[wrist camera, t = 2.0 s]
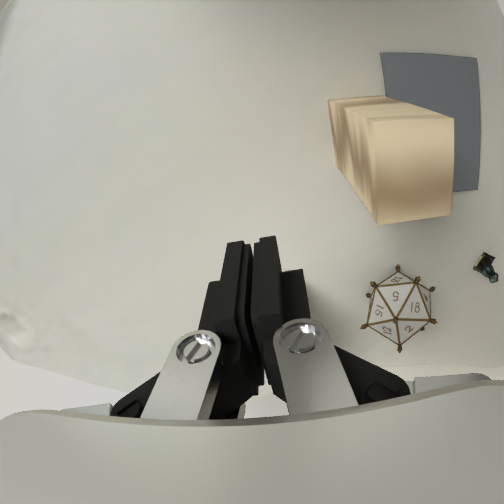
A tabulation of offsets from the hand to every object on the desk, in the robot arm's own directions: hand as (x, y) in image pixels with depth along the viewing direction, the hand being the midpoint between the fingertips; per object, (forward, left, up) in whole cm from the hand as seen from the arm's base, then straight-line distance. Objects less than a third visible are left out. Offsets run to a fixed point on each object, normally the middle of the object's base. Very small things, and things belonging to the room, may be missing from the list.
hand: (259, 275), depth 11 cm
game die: (+17, +12, -19) cm, 28 cm away
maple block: (-1, +9, -19) cm, 21 cm away
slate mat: (0, +17, -19) cm, 25 cm away
